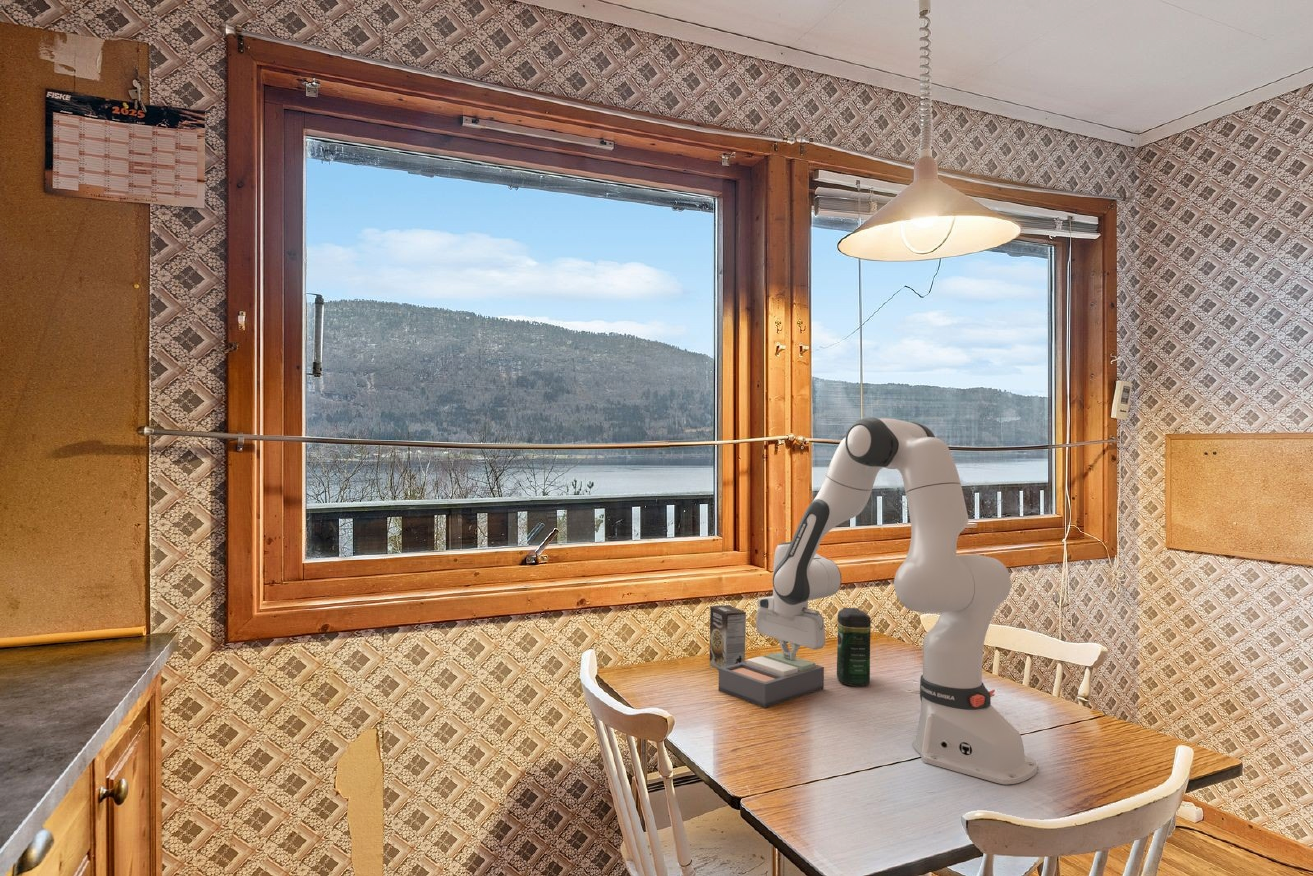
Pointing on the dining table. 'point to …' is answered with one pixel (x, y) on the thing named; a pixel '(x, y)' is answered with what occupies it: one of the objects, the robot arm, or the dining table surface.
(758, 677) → the orange rectangular block
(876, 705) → the dining table surface
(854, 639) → the coffee jar
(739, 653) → the coffee box
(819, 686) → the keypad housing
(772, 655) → the sage key
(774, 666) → the cream key
